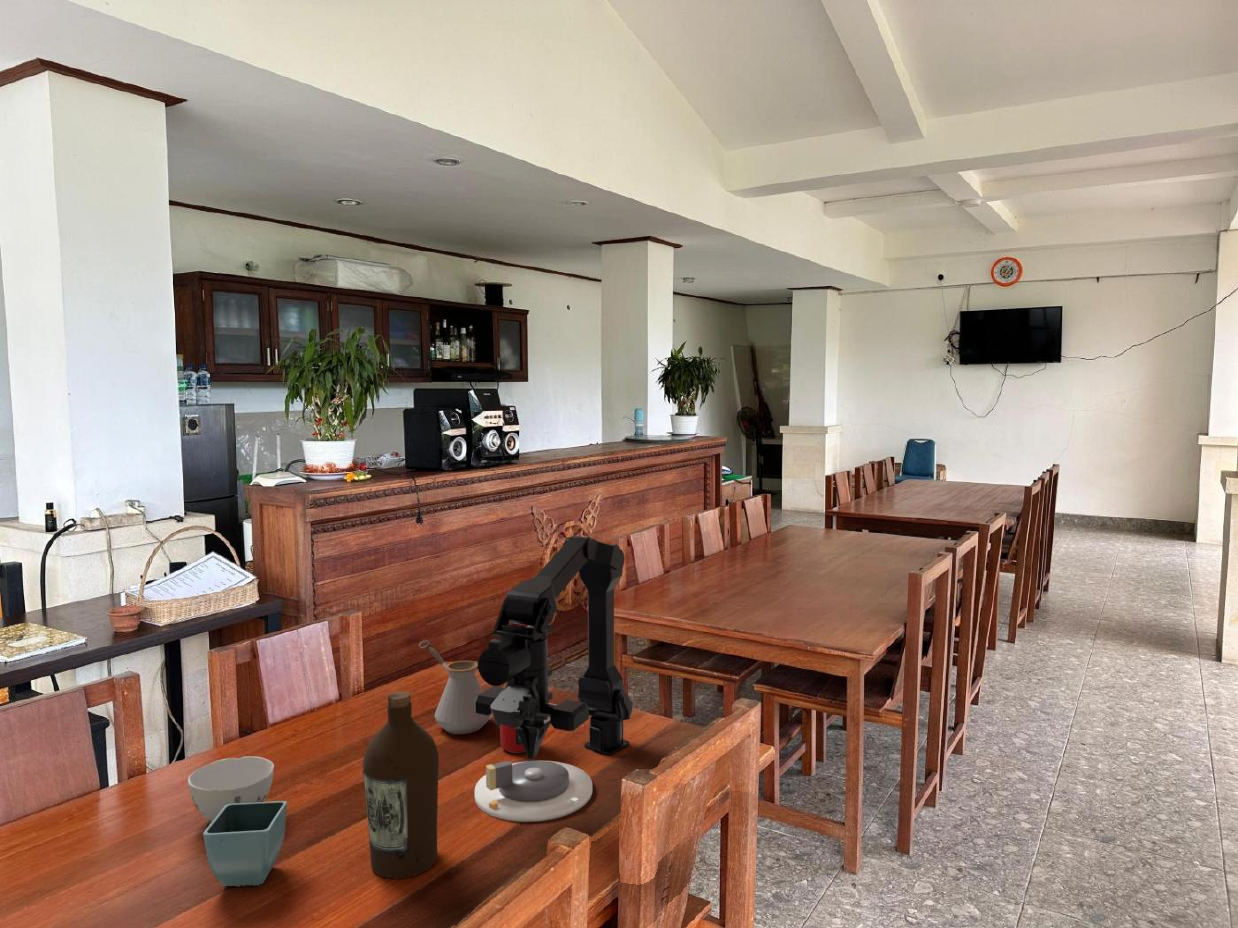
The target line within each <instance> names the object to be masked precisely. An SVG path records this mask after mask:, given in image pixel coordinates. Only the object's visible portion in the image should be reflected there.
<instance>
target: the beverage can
mask: <svg viewBox="0 0 1238 928" xmlns="http://www.w3.org/2000/svg"><path fill="white" fill-rule="evenodd" d="M506 686H507V684H504V685H503V687H502V688H506ZM499 732H500V733H499V735H500V737H499V738H500V746H501V748H502V749H503V750H505V751H506V752H509V753H513V754H521V753H522V754H523V753H526V751H525V749H524V746H523V744H522V741H521V739H520V736H519V734H518V732H517V731H516V729H515V728H511V727H510V726H506V725H499Z"/></svg>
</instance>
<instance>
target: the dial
mask: <svg viewBox="0 0 1238 928" xmlns="http://www.w3.org/2000/svg"><path fill="white" fill-rule="evenodd" d="M548 761H549V760H529V761H528V760H527V762H525V761H520V762H521V763H519V762H516V763H517V764H514V763H512V762H510V761H509V760H506V761H501V762H498V763H493V764H491V763H490V764H487V765H485V775H486V787H487V788H488V789H489V790H490V791H491V790H494V789H498V788H499V791H500V793H501V794H502V795H504V796H505V797H507V798H510V799H513V800H517V801H524V802H535V801H543V800H548V799H551V798H554V797H556V796H559V795H560V794H562V793H563V792H565V791H566V789H567V788H568V786H569V773H568V771H567V769H566V768H565V767H563V766H561V765H559V764H557V763H553V762H548ZM512 764H514V765H512Z"/></svg>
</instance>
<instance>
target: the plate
mask: <svg viewBox="0 0 1238 928" xmlns="http://www.w3.org/2000/svg"><path fill="white" fill-rule="evenodd" d="M527 761H528V760H527ZM527 761H524V762H527ZM547 761H548V762H553V763H557V764H559V765H561V766H563V767H565V768H566V769H567V771H568V773H569V786H568V788H567V789H566V791H565V792H563V793H562V794H560V795H559V796H556V797H554V798H551V799H548V800H543V801H535V802H524V801H517V800H513V799H510V798H507V797H505V796H504V795H502V794H501V793H500V791H499V788H498V789H494V790H491V791H490V790H489V789H488V788H487V787H486V774H485V775H483V776H482V777H480V779H478V781H477V783H476V785H475V787H474V801H475V804H476V805H477V807H478V808H479V809H480V810H481V811H482V812H484V813H485V814H487V815H489V816H492V817H494V818H497V819H501V820H505V821H509V822H510V821H511V822H521V823H530V822H531V823H532V822H534V823H535V822H544V821H549V820H550V821H551V820H555V819H559V818H562V817H566V816H568V815H570V814H573V813H574V812H576V811H578V810H580V809H582V808H583V807H584V806H585V805H586V804H587V803H588V802H589V801H590V799H591V797H592V795H593V781H592V778H591V777H590V775H589V774H588V773H587V772H586V771H584V770H583V769H582V768H581V769H580V768H579V767H577V766H574V765H572V764H569V763H565V762H560V761H553V760H547ZM521 762H522V761H520V762H519V761H518V762H514V763H511V764H512V765H514V764H517V763H521Z"/></svg>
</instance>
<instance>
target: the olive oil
mask: <svg viewBox="0 0 1238 928" xmlns="http://www.w3.org/2000/svg"><path fill="white" fill-rule="evenodd" d="M411 697H412V696H411V692H407V691H396V692H392V693H390V694H389V695H387V702H388V704H387V705H386V706H387V708H386V709H387V710H386V711H387V722H386V723H385V724H384V725H383V726H382V728H381V729H380V730H378V732H377V733H376V734H375V735H374V737H372V739H371V740H370V741H369V743H368V745H367V747H366V749H365V752H364V757H363V760H362V776H363V783H364V792H365V804H366V814H367V827H368V841H369V857H370V866H371V870H372V872H373V873H374V874H376V875H377V876H380V877H382V878H386V879H391V880H393V879H397V880H398V879H407V878H411V877H415V876H417V875H420V874H423V873H424V872H426V871H428V870H429V869H430V868H431V867H432V866H433V865H434V864H435V862H436V861H437V859H438V802H439V801H438V798H439V769H440V768H439V765H440V761H439V759H440V757H439V751H438V747H437V744H436V742H435V739H434V738H433V736H432V735H431V734H430V733H429V732H428V731H427V730H426V729H424V727H422V726H421V725H419V723H417V721H415V719H413V717H412V712H413V711H412V709H413V707H412V705H413V704H412V702H411Z"/></svg>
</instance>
